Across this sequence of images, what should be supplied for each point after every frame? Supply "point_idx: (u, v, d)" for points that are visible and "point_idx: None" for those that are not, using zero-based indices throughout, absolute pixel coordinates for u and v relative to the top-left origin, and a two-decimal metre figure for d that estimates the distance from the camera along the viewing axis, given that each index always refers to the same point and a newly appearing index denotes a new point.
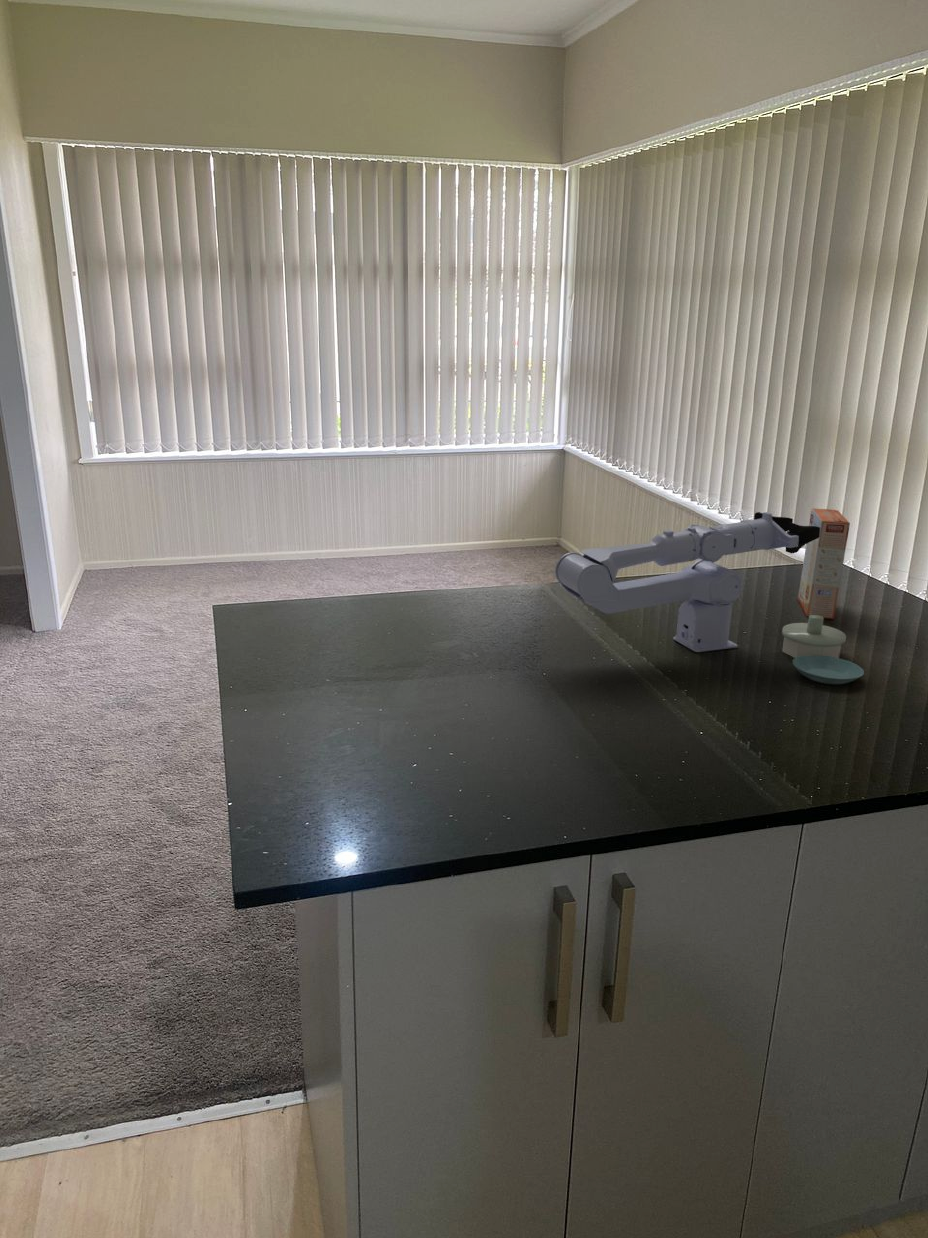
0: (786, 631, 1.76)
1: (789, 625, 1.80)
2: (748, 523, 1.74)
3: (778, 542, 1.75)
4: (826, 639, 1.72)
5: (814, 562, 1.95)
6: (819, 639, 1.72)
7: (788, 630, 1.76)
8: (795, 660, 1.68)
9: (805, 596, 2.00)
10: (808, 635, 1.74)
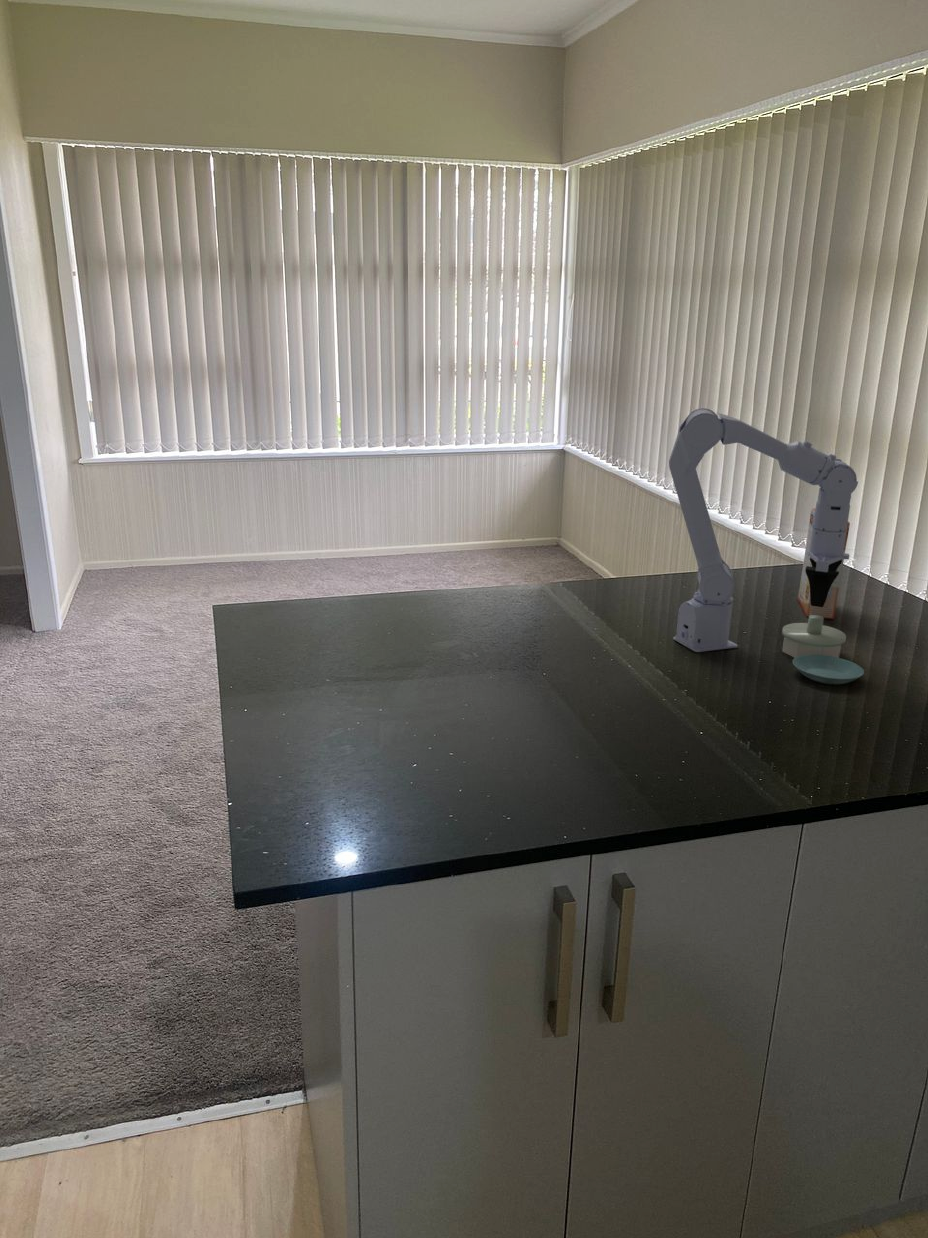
0: (786, 631, 1.76)
1: (789, 625, 1.80)
2: (845, 531, 1.68)
3: None
4: (826, 639, 1.72)
5: None
6: (819, 639, 1.72)
7: (788, 630, 1.76)
8: (795, 660, 1.68)
9: (805, 596, 2.00)
10: (808, 635, 1.74)
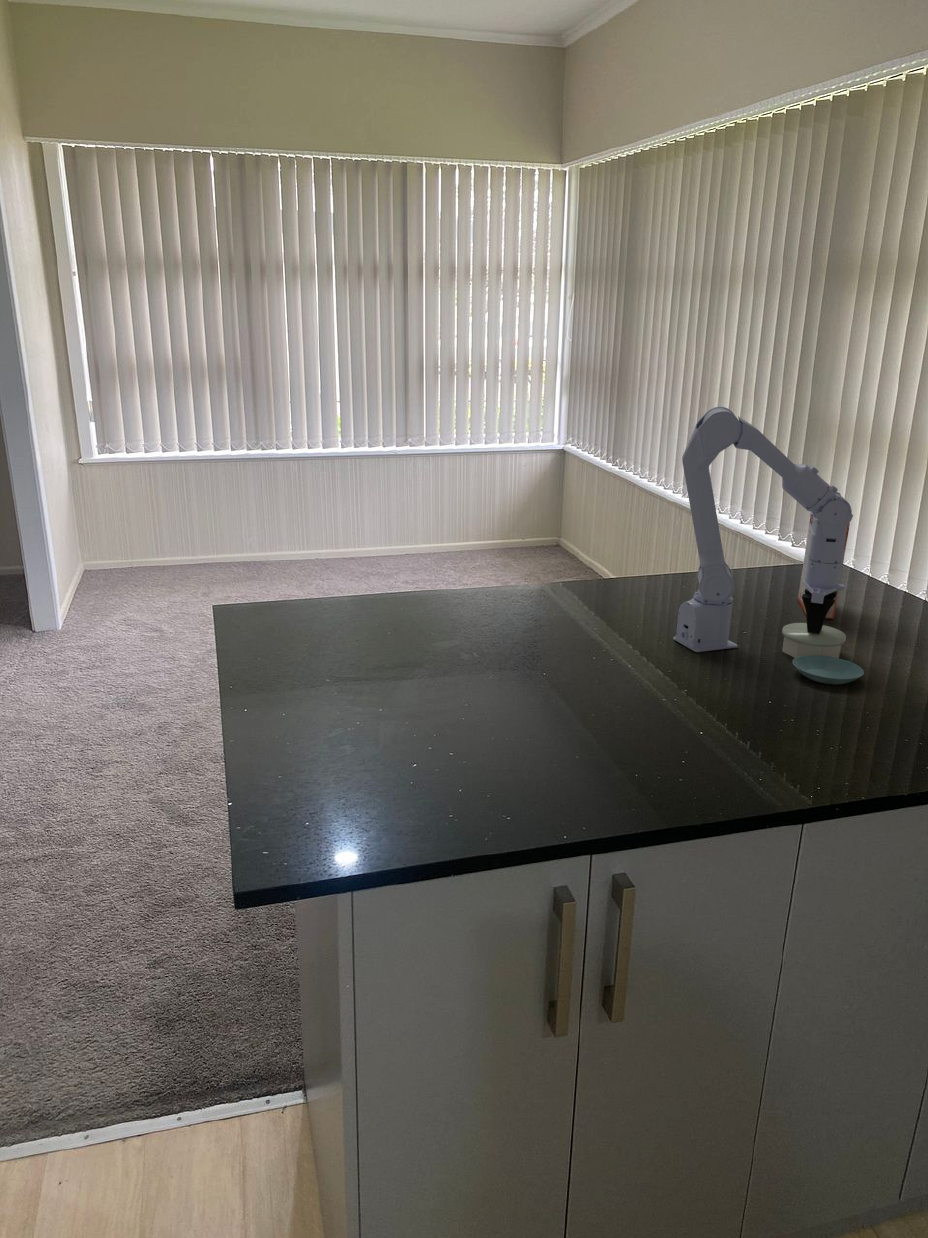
0: (786, 631, 1.76)
1: (789, 625, 1.80)
2: (840, 562, 1.70)
3: (814, 589, 1.70)
4: (826, 639, 1.72)
5: None
6: (819, 639, 1.72)
7: (788, 630, 1.76)
8: (795, 660, 1.68)
9: None
10: (808, 635, 1.74)
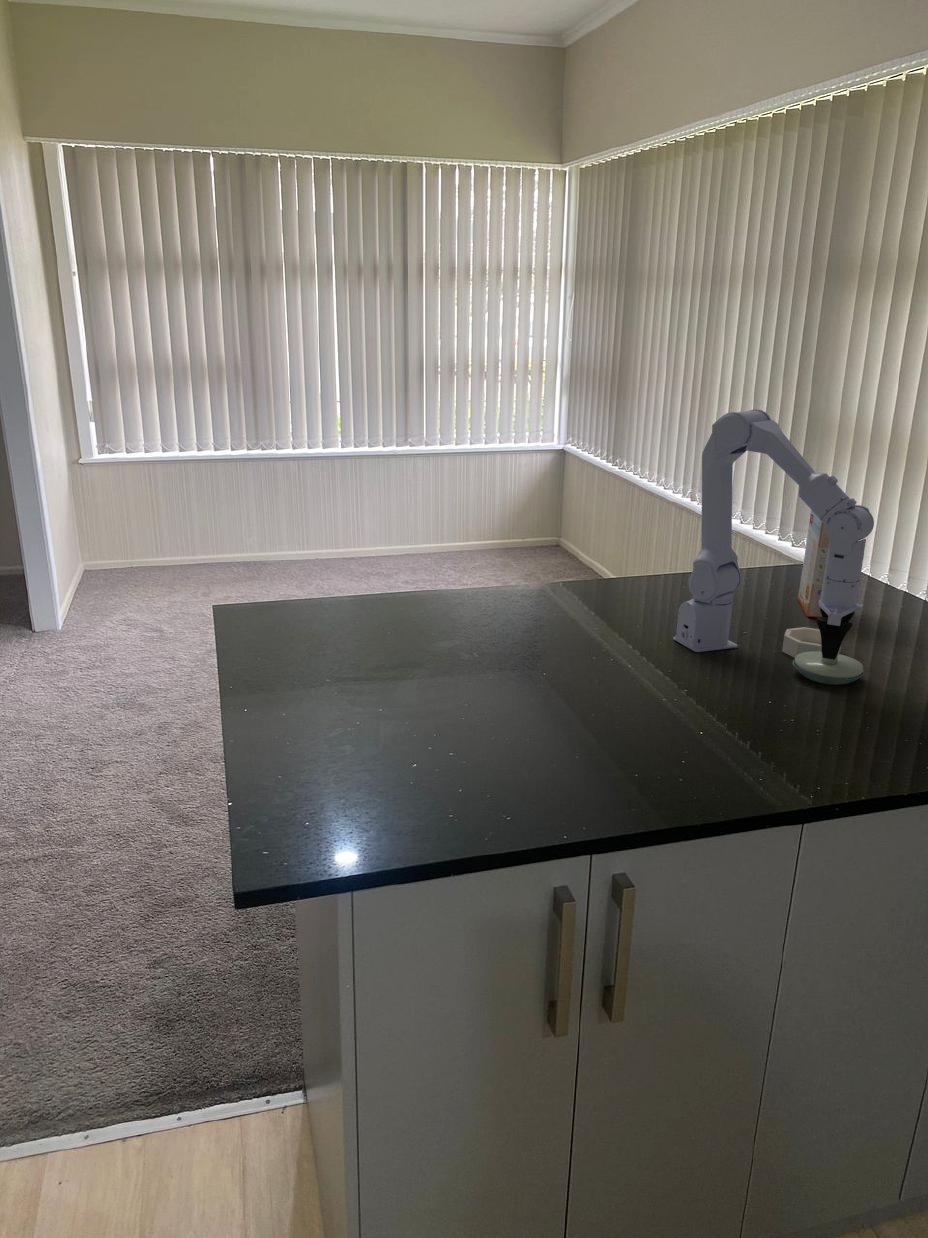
0: (798, 660, 1.65)
1: (803, 654, 1.68)
2: (858, 581, 1.58)
3: None
4: (841, 670, 1.61)
5: (814, 562, 1.95)
6: (833, 670, 1.61)
7: (800, 660, 1.65)
8: None
9: (805, 596, 2.00)
10: (822, 665, 1.63)
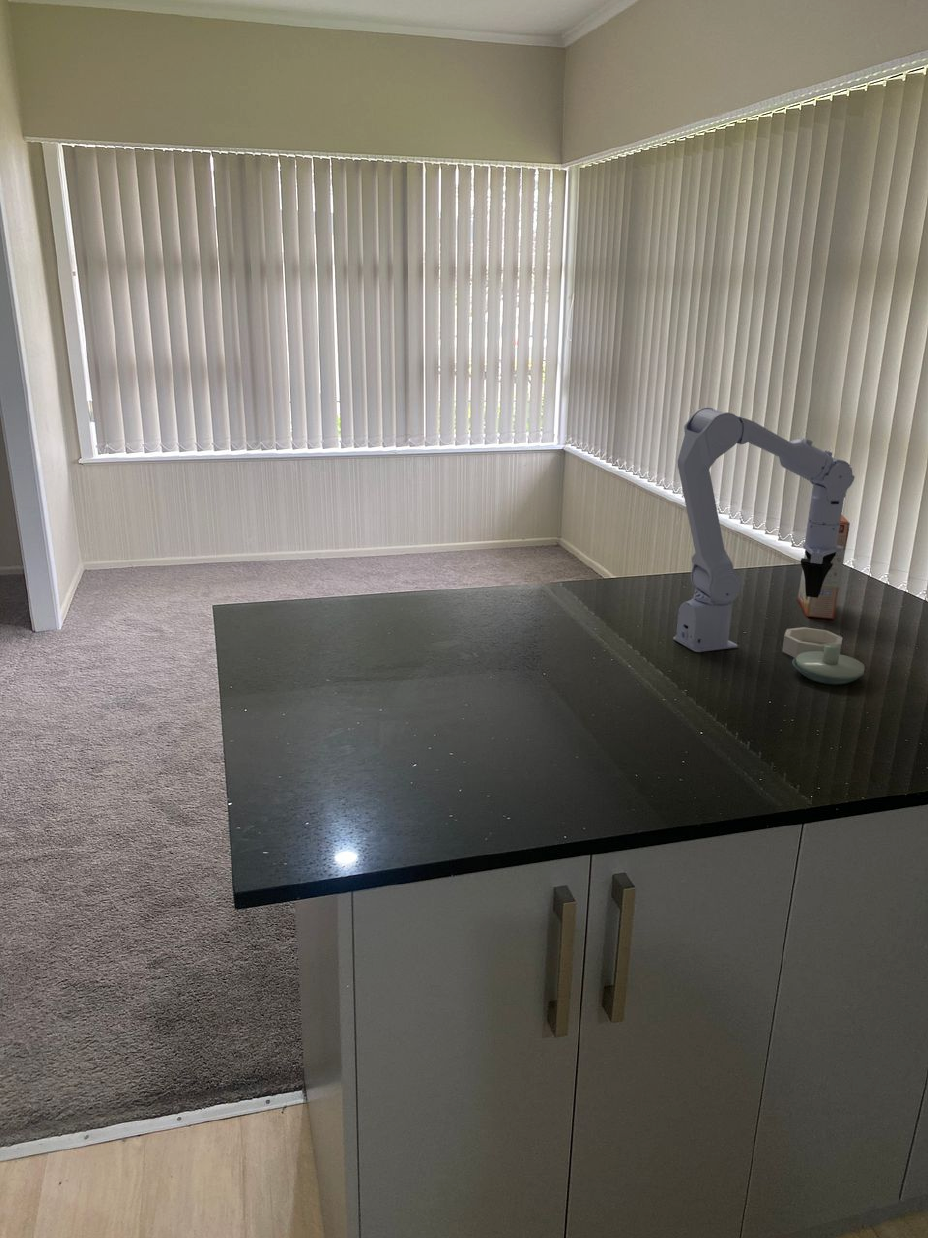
0: (800, 660, 1.65)
1: (804, 653, 1.68)
2: (839, 524, 1.75)
3: None
4: (842, 670, 1.61)
5: None
6: (834, 670, 1.61)
7: (801, 659, 1.65)
8: (795, 660, 1.68)
9: (805, 596, 2.00)
10: (823, 665, 1.63)
